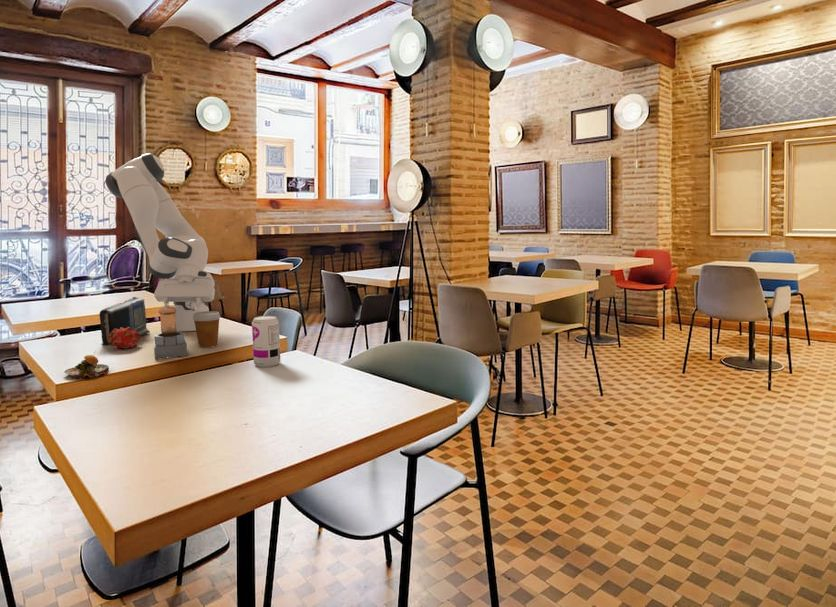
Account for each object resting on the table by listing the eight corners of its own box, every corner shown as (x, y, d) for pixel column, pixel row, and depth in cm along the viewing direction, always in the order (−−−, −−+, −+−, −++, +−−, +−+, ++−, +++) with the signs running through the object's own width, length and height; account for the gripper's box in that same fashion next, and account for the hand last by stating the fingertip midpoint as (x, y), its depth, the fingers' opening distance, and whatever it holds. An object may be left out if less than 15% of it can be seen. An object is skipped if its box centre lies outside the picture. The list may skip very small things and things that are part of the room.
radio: (109, 346, 214) (106, 306, 212) (90, 345, 216) (86, 305, 214) (154, 333, 236) (151, 297, 234) (136, 332, 238) (133, 296, 236)
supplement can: (256, 368, 183) (253, 321, 180) (252, 362, 190) (249, 316, 188) (282, 366, 186) (280, 319, 183) (277, 360, 193) (275, 314, 191)
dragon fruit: (105, 355, 207) (139, 354, 216) (115, 344, 203) (149, 343, 212) (100, 334, 210) (134, 333, 219) (110, 322, 205) (144, 322, 215)
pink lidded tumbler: (161, 342, 202) (158, 307, 200) (177, 340, 204) (175, 306, 203) (161, 345, 197) (159, 309, 195) (179, 343, 200) (176, 308, 198)
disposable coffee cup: (226, 343, 218) (224, 311, 216) (215, 349, 209) (213, 315, 207) (201, 342, 219) (199, 310, 217) (189, 348, 210) (187, 315, 208)
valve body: (187, 356, 199) (186, 335, 198) (155, 359, 195) (153, 338, 194) (184, 346, 213) (182, 327, 212) (153, 349, 209) (152, 330, 208)
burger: (80, 369, 184) (77, 346, 183) (117, 369, 184) (115, 346, 183) (55, 380, 172) (52, 355, 171) (95, 380, 172) (93, 355, 171)
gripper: (157, 273, 211) (146, 304, 203) (214, 273, 211) (206, 304, 202) (163, 284, 216) (153, 315, 208) (219, 283, 216) (211, 315, 208)
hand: (179, 310), depth 205 cm, fingers open, 8 cm apart
